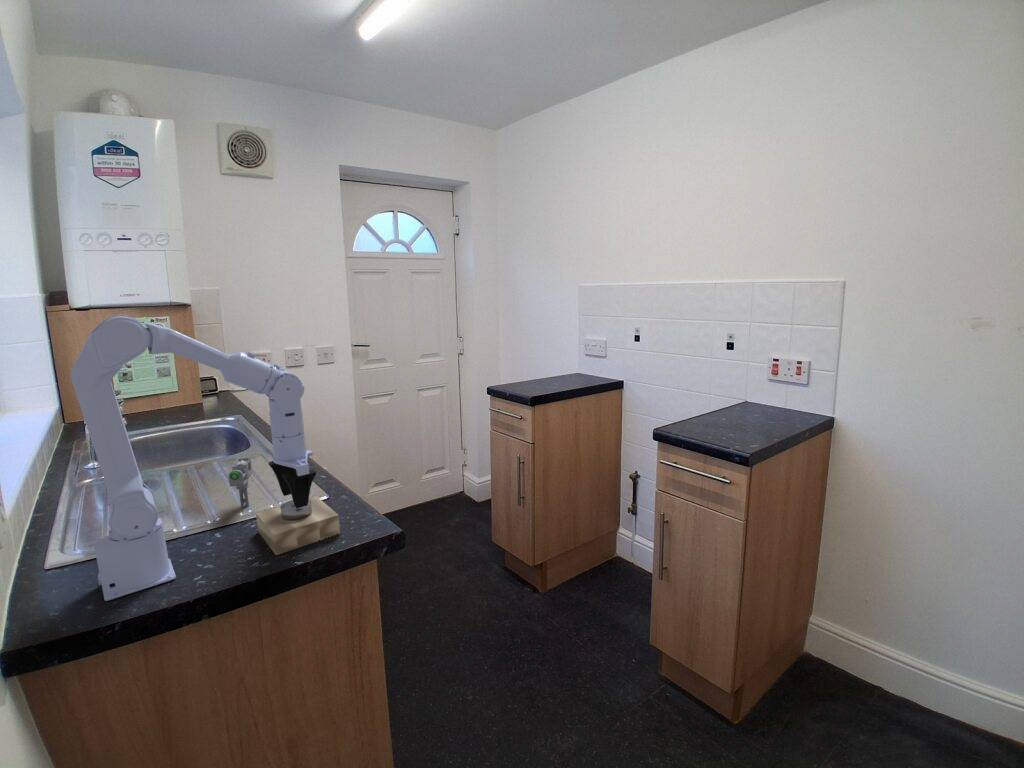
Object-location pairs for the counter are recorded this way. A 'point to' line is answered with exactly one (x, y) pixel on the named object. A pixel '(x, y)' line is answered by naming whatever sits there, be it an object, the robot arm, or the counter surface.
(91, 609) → the counter surface
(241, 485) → the mechanical component
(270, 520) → the block
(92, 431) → the robot arm
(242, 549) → the counter surface
